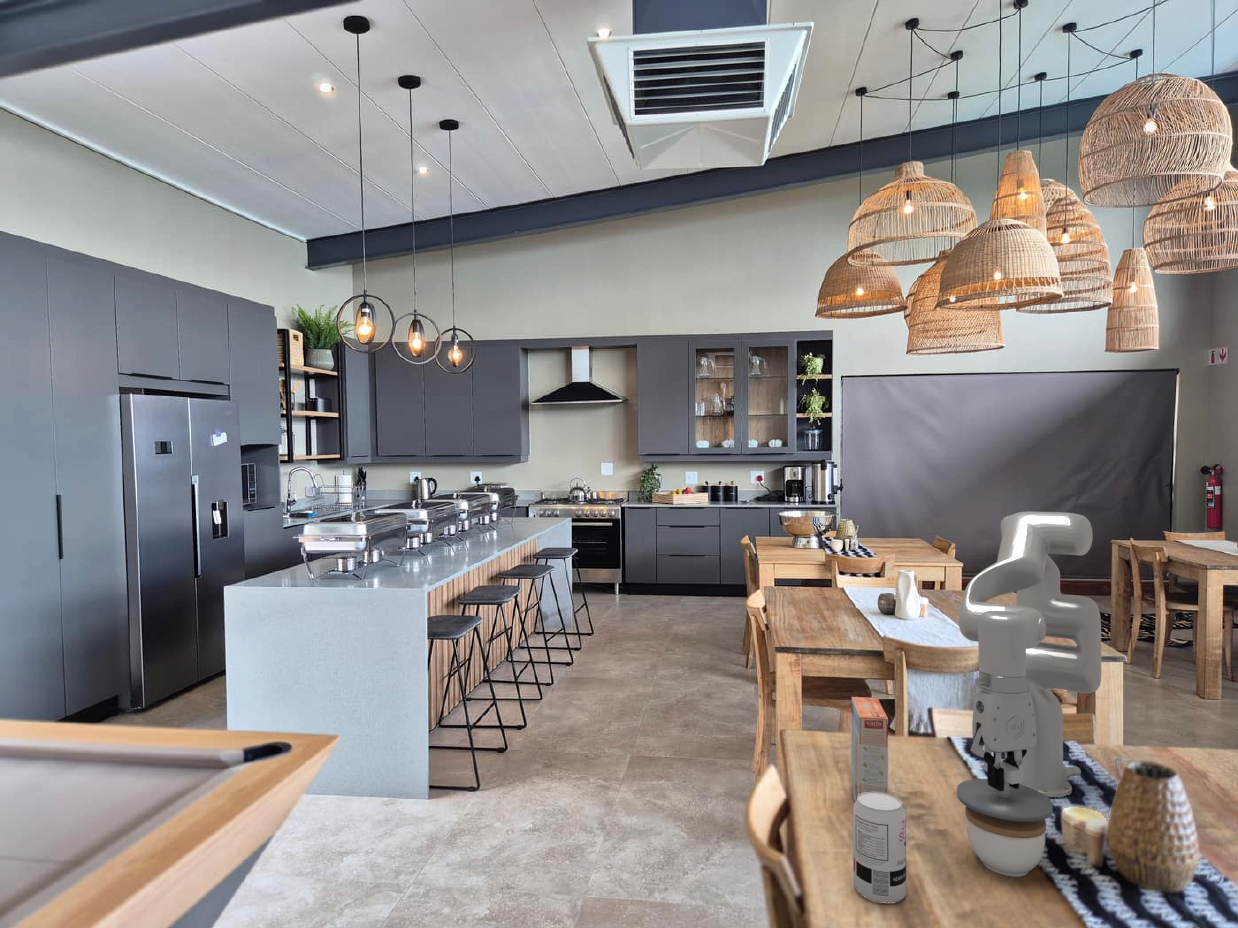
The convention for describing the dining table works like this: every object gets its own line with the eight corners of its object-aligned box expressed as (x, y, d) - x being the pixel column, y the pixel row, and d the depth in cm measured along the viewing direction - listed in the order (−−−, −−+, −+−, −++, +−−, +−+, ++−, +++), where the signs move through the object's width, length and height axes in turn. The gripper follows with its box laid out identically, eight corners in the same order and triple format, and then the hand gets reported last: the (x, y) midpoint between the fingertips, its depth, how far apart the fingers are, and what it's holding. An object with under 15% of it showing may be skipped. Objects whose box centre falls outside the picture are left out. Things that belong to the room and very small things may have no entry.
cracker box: (889, 824, 147) (889, 717, 147) (857, 821, 148) (857, 715, 148) (879, 794, 160) (879, 696, 161) (850, 792, 162) (850, 695, 162)
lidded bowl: (976, 840, 140) (975, 781, 140) (1053, 863, 132) (1052, 800, 132) (956, 868, 130) (956, 804, 130) (1038, 894, 122) (1037, 826, 122)
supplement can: (845, 879, 127) (845, 790, 127) (892, 877, 127) (892, 789, 128) (865, 907, 119) (865, 812, 119) (915, 904, 119) (915, 810, 120)
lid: (1073, 814, 126) (1073, 776, 126) (1001, 826, 122) (1000, 786, 122) (1005, 779, 141) (1005, 745, 141) (938, 789, 137) (938, 753, 137)
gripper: (980, 692, 126) (981, 801, 126) (1056, 684, 130) (1057, 790, 130) (949, 680, 133) (949, 783, 133) (1022, 673, 138) (1023, 773, 137)
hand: (1003, 785), depth 132 cm, fingers closed on lid, 2 cm apart
